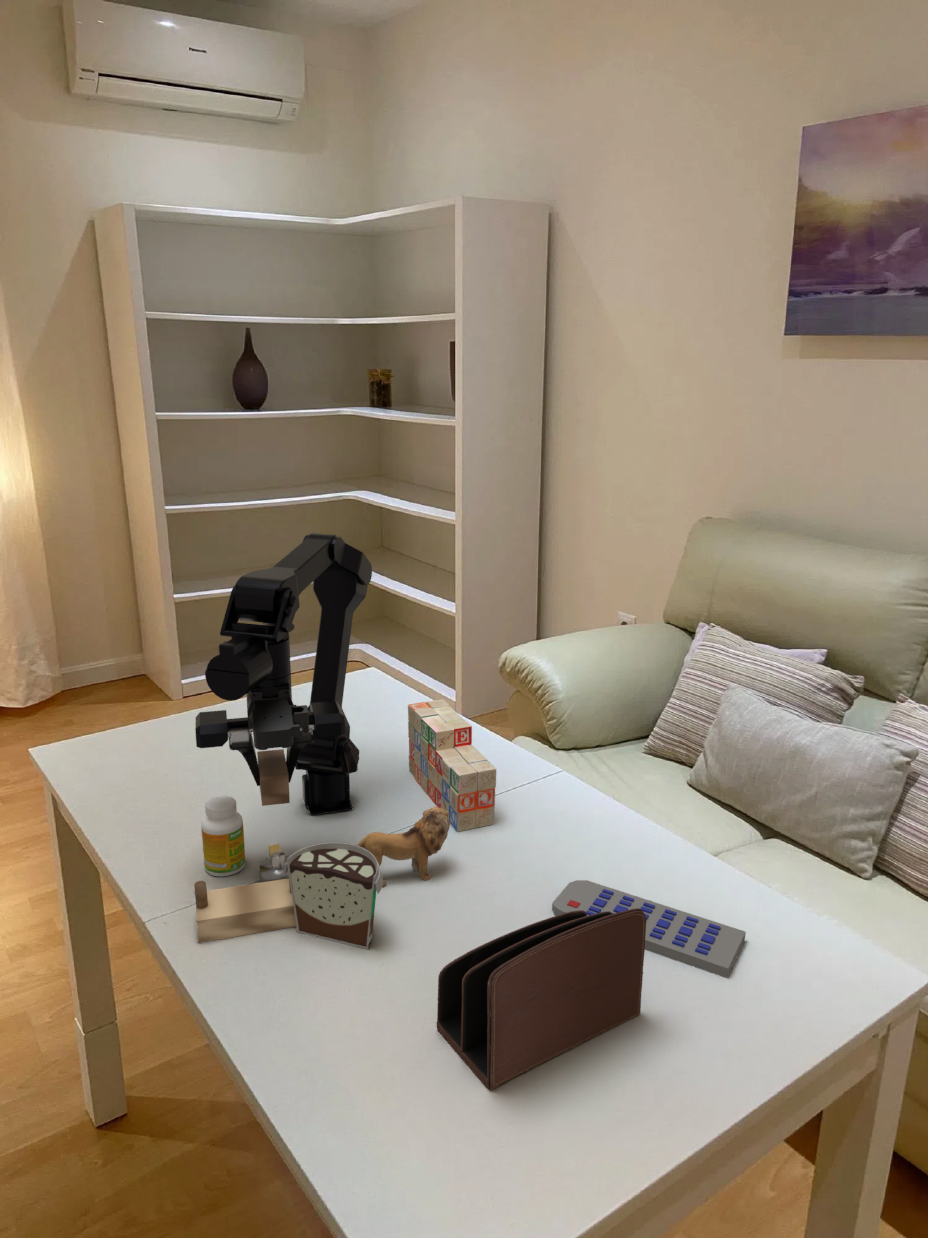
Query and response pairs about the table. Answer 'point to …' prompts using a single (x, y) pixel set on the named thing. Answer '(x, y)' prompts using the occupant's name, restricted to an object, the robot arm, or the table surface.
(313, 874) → the food container
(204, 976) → the table surface
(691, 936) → the remote control
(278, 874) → the door lever handle
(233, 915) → the peg stand
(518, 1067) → the letter holder
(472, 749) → the stack of blocks
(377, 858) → the lion figurine
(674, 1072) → the table surface
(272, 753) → the tall brown cuboid
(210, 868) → the supplement bottle
